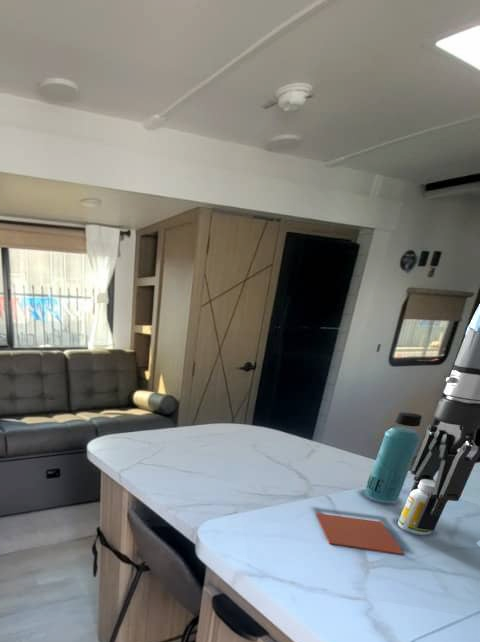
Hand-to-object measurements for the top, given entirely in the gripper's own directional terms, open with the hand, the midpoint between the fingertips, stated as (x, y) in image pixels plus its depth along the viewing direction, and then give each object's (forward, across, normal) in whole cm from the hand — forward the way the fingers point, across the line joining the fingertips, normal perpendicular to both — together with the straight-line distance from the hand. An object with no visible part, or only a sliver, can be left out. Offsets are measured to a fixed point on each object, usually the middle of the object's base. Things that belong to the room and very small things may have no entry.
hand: (417, 520), depth 78 cm
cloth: (+2, +4, -11) cm, 12 cm away
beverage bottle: (+3, -13, -2) cm, 13 cm away
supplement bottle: (+2, 0, 0) cm, 2 cm away
